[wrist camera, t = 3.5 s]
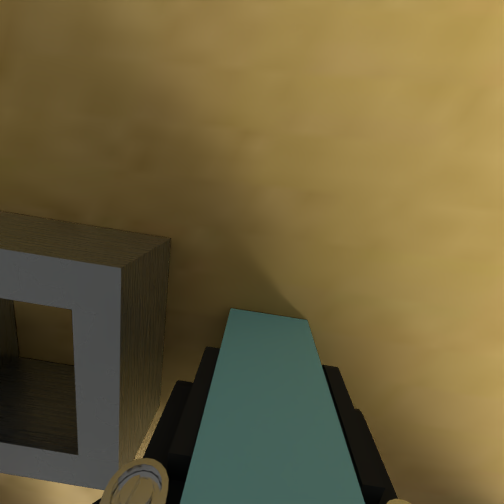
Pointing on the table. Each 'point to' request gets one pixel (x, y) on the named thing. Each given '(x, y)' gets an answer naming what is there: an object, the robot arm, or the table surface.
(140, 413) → the hole rail
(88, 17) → the table surface
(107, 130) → the table surface
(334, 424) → the square peg
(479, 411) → the table surface
